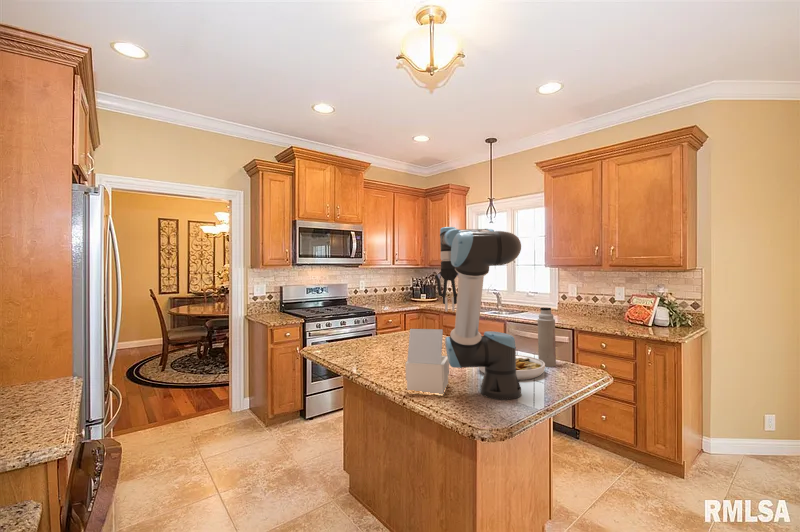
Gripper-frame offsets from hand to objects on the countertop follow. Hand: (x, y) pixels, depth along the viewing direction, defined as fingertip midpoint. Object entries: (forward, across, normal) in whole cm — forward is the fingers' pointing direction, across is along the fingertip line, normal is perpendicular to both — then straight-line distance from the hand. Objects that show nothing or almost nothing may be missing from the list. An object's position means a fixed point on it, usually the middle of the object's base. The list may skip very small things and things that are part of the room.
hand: (449, 311), depth 177 cm
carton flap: (+10, +6, +30) cm, 33 cm away
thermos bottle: (+29, -44, -22) cm, 57 cm away
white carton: (+29, +6, +26) cm, 39 cm away
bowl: (+29, -26, -6) cm, 40 cm away
